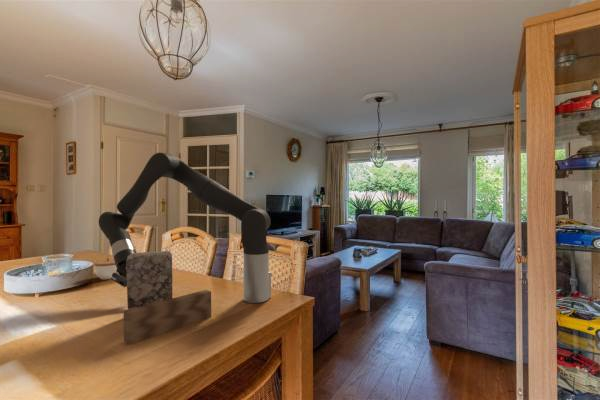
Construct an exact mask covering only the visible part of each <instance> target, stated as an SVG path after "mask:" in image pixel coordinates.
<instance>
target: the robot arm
mask: <svg viewBox="0 0 600 400" xmlns="http://www.w3.org/2000/svg"><path fill="white" fill-rule="evenodd" d="M161 178H169V179H172V180H174V181H176V182H179V183H180V184H182V185H183V186H185V187H186V188H187V190H189V191H190V193H191V194H192V195H193V196H194V198H195V199H197V200H199V201H200V202H202V203H203V204H204V205H207V206H208V207H210V208H212V209H214V210H217V211H219V212H222V213H224V214H228V215H231V216H232V217H234V218H236V219H238V220H239V221H240V222H241V223H240V233H241V235H240V237H241V246H242V249H243V301H244V302H246V303H250V304H258V303H264V302H266V301H268V300H269V299H270V298H272V273H271V271H270V261H269V259H270V254H269V253H270V252H269V250H270V247H269V244H268V243H267V242H268V240H267V230H268V229H269V228H270V226H271V224H272V223H271V217H270V215H269V214H268V212H267V211H266V210H264V209H263V208H259V207H257V206H255V205H254V204H251V203H249V202H247V201H246V200H244V199H243V198H241V197H239V196H238V195H237V194H235V193H234V192H232V191H231V190H229V189H228V188H226V187H225V186H223V185H222V184H220V183H219V182H218V181H215V180H213V179H212V178H210V177H209V176H206V175H205V174H203V173H201V172H199V171H198V170H195V169H194V168H192V167H191V166H189V165H188V164H187V163H185V162H184V161H183V160H182V159H181V158H179V157H177V156H176V155H174V154H170V153H165V152H156V153H154V154H153V155H152V156H151V157H150V158H149V160H148V161H147V163H146V164H145V166H144V168H143V169H142V171H141V173H140V174H139V176H138V177H137V179H136V180H135V182H134V183H133V185H132V187H131V188H130V189H129V190H128V191H127V193H125V195H124V196H122V198H121V199H120V200H119V202H117V204H116V209H117V211H118V212H119V213H117V212H114V211H105V212H103V213H101V215H100V216H99V217H98V226H99V228H100V230H101V232H102V233H103V234H104V236H105V237H106V238H107V240H108V241H109V244H110V248H111V254H112V255H111V256H112V259H114V261H115V265H116V268H117V270H116V273H113V274H112V277H111V279H110V280H111V281H113V282H115V283H117V284H119V285H120V286H122V287H124V288H127V270H126V260H127V257H128V256H129V255H132V254H134V253H138V252H137V250H136V247H135V245H134V243H133V241H132V238H131V234H130V233H129V231H127V229H128V228H129V226H130V224H131V223H132V219H133V218H134V216H135V214H136V213H137V212H138V210H139V209H140V208H141V207H143V205H144V204H145V202H146V201H147V199H148V195H149V192H150V190H151V188H152V187H153V185H154V184H155V183H156V182H157V181H158V180H160V179H161Z"/></svg>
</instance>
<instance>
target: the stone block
mask: <svg viewBox="0 0 600 400" xmlns="http://www.w3.org/2000/svg"><path fill="white" fill-rule="evenodd" d="M126 270H127V286H126V293H127V294H126V295H127V296H126V297H127V310H130V309H133V308H137V307H141V306H145V305H149V304H153V303H156V302H160V301H164V300H168V299H172V298H173V283H174V282H173V253H172V252H171V251H170V250H165V251H164V250H163V251H162V250H160V251H159V250H158V251H157V250H155V251H146V252H137V253H134V254H132V255H129V256H128V257H127V260H126Z"/></svg>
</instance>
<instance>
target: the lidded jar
mask: <svg viewBox="0 0 600 400" xmlns="http://www.w3.org/2000/svg"><path fill="white" fill-rule="evenodd" d="M116 270H117V268H116V265H115V261H114V258H112V259H110V257H106V259H102V260H98V261H95V262H94V271H95V274H96V276H97V277H98V278H99V279H100V280H111V277H112V274H113V273H116Z"/></svg>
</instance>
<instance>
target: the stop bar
mask: <svg viewBox="0 0 600 400" xmlns="http://www.w3.org/2000/svg"><path fill="white" fill-rule="evenodd" d="M122 312H123V314H122V315H123V342H124V344H126V345H127V346H131V345H132V344H135V343H138V342H141V341H144V340H147V339H150V338H153V337H156V336H159V335H162V334H165V333H168V332H170V331H174V330H177V329H180V328H183V327H186V326H189V325H191V324H195V323H198V322H200V321H203V320H206V319H208V318H209V319H210V318H212V291H211V290H208V289H203V290H199V291H196V292H192V293H189V294H185V295H184V294H183V295H181V296H176V297H174V298H173V297H172V299H168V300H164V301H160V302H156V303H153V304H149V305H145V306H141V307H137V308H133V309H130V310H128V309H126V310H123V311H122Z"/></svg>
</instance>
